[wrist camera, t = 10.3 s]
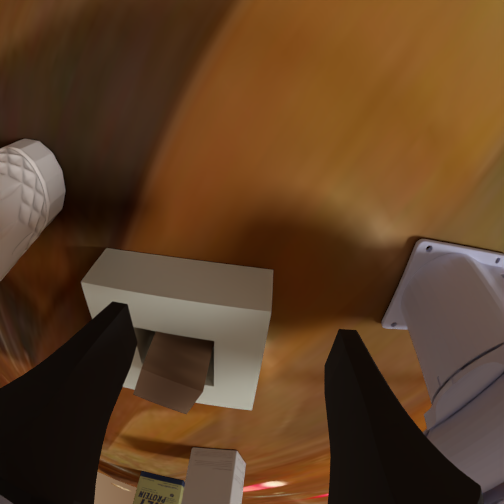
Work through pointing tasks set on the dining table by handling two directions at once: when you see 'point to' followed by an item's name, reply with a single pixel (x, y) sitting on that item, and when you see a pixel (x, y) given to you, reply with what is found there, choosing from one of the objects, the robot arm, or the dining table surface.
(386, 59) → the dining table surface
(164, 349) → the peg
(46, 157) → the white cup
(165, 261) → the socket block
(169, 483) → the protein box
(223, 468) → the supplement box
